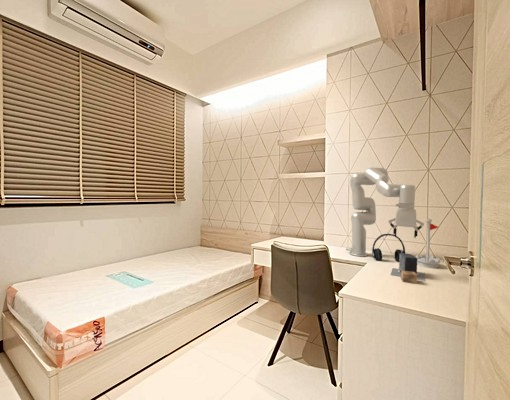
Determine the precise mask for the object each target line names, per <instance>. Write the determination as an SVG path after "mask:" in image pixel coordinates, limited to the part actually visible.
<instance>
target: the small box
mask: <svg viewBox="0 0 510 400" xmlns="http://www.w3.org/2000/svg"><path fill="white" fill-rule="evenodd" d="M398 264H399V265H398V269H399V271H400V272H401V270H402V271H411V272H415V273H416V275H417V272H418V265H417V258H416V255H413V254H412V253H406V252H405V253H400V259H399V261H398Z"/></svg>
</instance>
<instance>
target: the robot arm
mask: <svg viewBox="0 0 510 400" xmlns="http://www.w3.org/2000/svg"><path fill="white" fill-rule="evenodd" d="M388 175H389V171H388V170H387V169H386V168H384V167H374V166H373V167H369V168H367V169H366V170H365V172H360V173H359V172H358V173H353V174H352V176H351V177H350V181H349V183H350V188H351V199H352V207H353V209H354V210H356V212H353V213H352V214H351V215H350V220H351V229H352V230H351V247H345V251H349V255H351V256H356V257H368V256H369V254H368V252H366V250H367V248H366V247H367V246H366V245H367V230H366V228H365V226H367V225H370V226H371V225H374V224H375V223H376V220H377V211H376V202H375V200H374V198H372V197H369V196H368V197H366V195H365V194H366V193H365V190H364V188H363V186H374V185H375V188H376V191H377V192H378V193H380V194H381V195H382V196H384V197H385V198H386V197H387V198H399V199H398V203H397V204H395V207H398V208H397V209H396V212H395V218H392V219H389V220H388V223H389V225H390V227H391V228H392V229H393V230H392V231H393V233H392V234H393V235H395V236H397V228H398V227H406V228H413V229H414V231H413V234H414V235H413V238H416V237H418V232H419V230H420V229H422V227H423V226H424V224H425V223H424V222H422V221H420V220H419V219H417V210H416V209H415V199H416V197H415V196H416V186H415V185H413V184H398V183H397V184H394V183H393V184H392V183H388V182H389V181H390V179H389V176H388ZM393 222H395V223H394V224H395V225H394V224H393ZM417 224H419V226H417Z"/></svg>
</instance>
